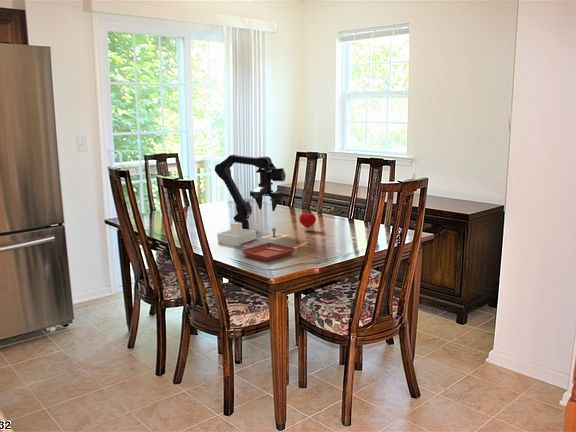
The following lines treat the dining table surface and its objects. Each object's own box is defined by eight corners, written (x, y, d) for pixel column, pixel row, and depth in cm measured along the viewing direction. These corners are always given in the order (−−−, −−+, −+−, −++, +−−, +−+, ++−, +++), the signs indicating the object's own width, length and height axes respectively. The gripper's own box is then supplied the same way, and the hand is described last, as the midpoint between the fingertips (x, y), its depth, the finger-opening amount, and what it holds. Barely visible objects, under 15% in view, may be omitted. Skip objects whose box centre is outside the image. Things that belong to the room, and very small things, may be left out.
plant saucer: (240, 256, 258) (240, 249, 257) (269, 248, 270) (269, 241, 269) (267, 264, 245) (267, 256, 244) (296, 255, 257) (296, 248, 257)
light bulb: (318, 231, 300) (318, 212, 298) (312, 234, 294) (312, 215, 292) (303, 229, 304) (302, 211, 302) (296, 232, 299) (296, 214, 296)
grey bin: (217, 242, 282) (217, 233, 281) (236, 237, 292) (235, 227, 291) (238, 246, 274) (237, 236, 273) (256, 240, 284) (255, 230, 283)
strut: (231, 240, 282) (230, 223, 281) (236, 239, 286) (235, 221, 284) (237, 241, 280) (236, 224, 278) (242, 240, 283) (241, 222, 281)
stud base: (260, 239, 287) (260, 229, 286) (272, 235, 294) (272, 225, 293) (276, 241, 281) (275, 231, 280) (287, 237, 289) (287, 227, 288)
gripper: (242, 181, 294) (243, 211, 298) (269, 184, 283) (270, 214, 286) (256, 179, 303) (257, 207, 306) (283, 181, 291) (284, 211, 294)
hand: (266, 210), depth 298 cm, fingers open, 9 cm apart
